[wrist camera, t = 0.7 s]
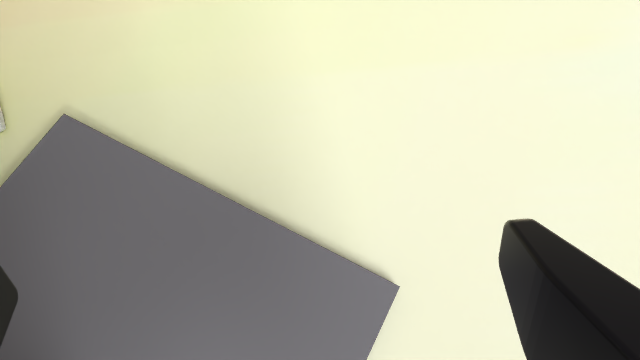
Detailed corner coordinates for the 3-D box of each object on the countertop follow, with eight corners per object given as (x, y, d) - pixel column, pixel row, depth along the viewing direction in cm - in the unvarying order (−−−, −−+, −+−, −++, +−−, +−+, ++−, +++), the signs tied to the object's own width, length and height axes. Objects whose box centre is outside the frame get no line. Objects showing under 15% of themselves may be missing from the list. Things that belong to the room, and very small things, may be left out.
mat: (268, 571, 17) (266, 578, 17) (-99, 316, 21) (-111, 315, 20) (397, 288, 21) (399, 286, 21) (69, 119, 25) (63, 113, 24)
